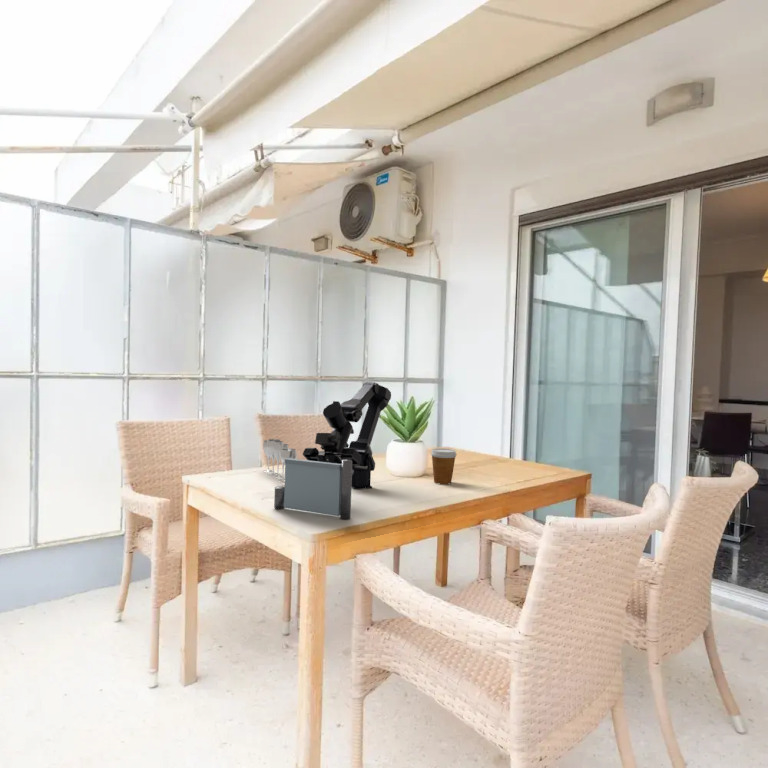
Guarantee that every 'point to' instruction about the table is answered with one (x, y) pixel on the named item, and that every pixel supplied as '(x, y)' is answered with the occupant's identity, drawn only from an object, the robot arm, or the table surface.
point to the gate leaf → (313, 486)
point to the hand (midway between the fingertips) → (322, 480)
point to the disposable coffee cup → (443, 465)
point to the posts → (345, 491)
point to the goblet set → (277, 454)
